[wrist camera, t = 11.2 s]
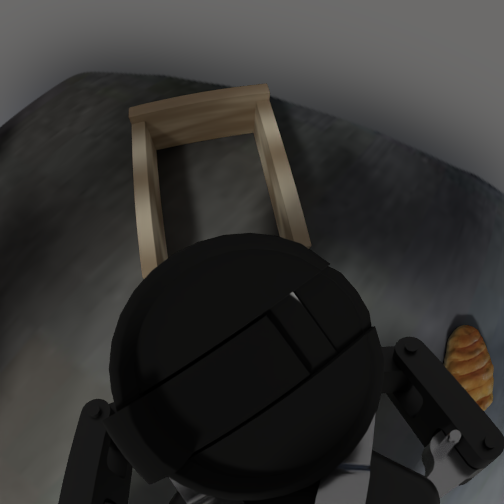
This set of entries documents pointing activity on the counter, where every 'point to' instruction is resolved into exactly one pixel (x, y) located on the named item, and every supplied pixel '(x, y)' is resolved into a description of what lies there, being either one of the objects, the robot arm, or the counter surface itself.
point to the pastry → (470, 364)
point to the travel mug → (243, 369)
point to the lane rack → (199, 129)
